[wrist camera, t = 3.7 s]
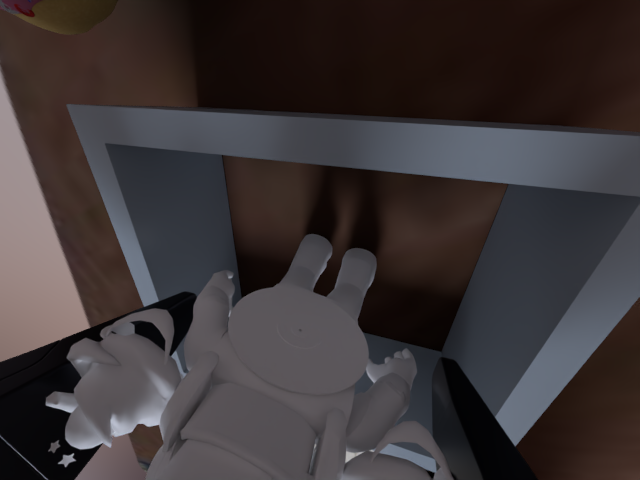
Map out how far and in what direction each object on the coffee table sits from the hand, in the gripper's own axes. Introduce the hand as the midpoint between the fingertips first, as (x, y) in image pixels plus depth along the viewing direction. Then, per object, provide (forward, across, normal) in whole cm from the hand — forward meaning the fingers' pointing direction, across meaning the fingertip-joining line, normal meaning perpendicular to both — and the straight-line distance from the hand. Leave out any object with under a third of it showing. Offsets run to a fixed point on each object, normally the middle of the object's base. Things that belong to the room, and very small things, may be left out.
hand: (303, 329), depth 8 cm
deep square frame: (+6, 0, 0) cm, 6 cm away
